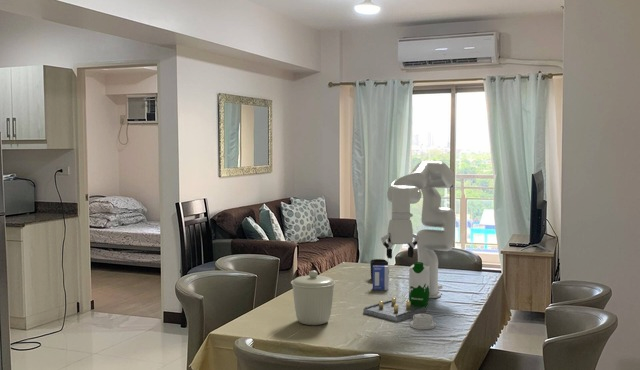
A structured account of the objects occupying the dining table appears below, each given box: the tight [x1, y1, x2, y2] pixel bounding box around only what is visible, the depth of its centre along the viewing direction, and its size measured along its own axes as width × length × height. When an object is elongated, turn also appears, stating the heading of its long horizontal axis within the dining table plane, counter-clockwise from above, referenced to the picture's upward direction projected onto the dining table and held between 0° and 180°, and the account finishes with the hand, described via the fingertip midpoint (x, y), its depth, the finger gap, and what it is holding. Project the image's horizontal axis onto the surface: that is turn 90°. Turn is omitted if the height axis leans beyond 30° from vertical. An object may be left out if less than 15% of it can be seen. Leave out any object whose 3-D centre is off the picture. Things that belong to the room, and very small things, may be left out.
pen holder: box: [370, 258, 389, 281], centre depth 332 cm, size 9×9×10 cm
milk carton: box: [408, 261, 430, 309], centre depth 277 cm, size 9×9×20 cm
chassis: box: [362, 297, 427, 323], centre depth 267 cm, size 20×18×5 cm
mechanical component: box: [409, 313, 436, 330], centre depth 248 cm, size 10×4×10 cm
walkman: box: [372, 265, 390, 291], centre depth 310 cm, size 8×3×12 cm, turn 86°
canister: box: [290, 270, 336, 326], centre depth 253 cm, size 18×18×21 cm
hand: (399, 257), depth 260 cm, fingers open, 9 cm apart
